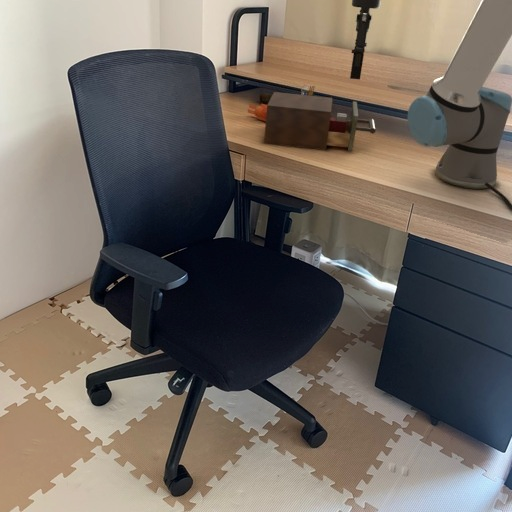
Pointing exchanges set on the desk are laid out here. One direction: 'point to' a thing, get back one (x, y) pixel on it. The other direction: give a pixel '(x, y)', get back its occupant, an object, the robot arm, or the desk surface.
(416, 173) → the desk surface
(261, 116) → the orange toy bird
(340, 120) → the red base white blocks
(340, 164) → the desk surface
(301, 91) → the utensil holder
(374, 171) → the desk surface
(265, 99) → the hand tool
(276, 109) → the cabinet
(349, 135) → the drawer
